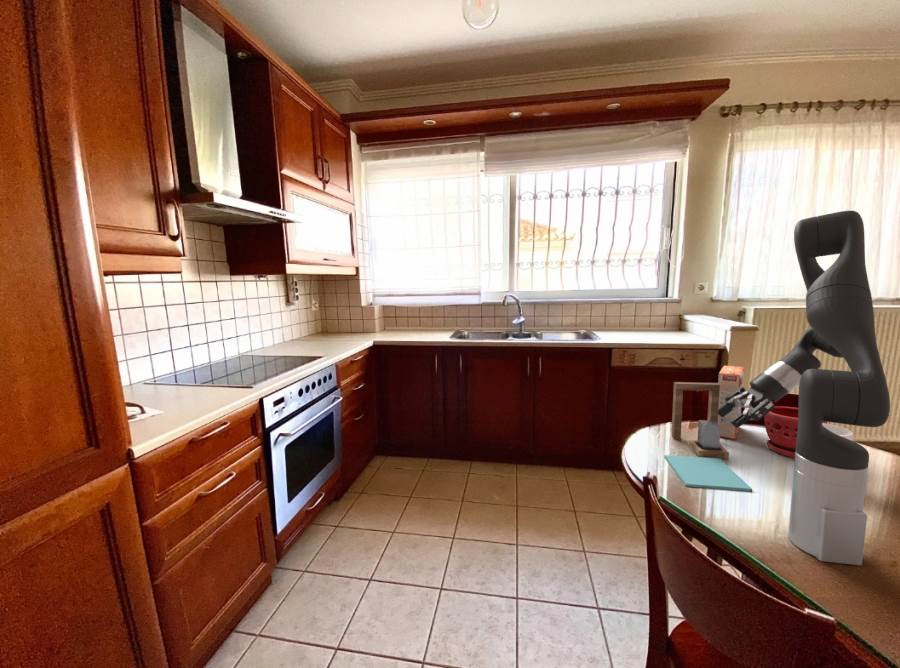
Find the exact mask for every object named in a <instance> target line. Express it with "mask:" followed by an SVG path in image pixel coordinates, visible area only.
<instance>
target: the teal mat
mask: <svg viewBox="0 0 900 668" xmlns="http://www.w3.org/2000/svg"><path fill="white" fill-rule="evenodd" d="M663 458H664V459H665V460H666V461H667V463H668V464H669V466H670V467H671V469H672V470H673V471H674V473H675V475H677V476H678V478H679V479H680V480H681V482H682V483H683V485H684V486H685V487H694V488H704V489H705V488H707V489H719V490H730V491H731V490H732V491H733V490H734V491H743V492H744V491H745V492H753V488H752V487H751V486H750V485H749V484H748V483H747V482H746V481H744V480H743V479H742V478H741V476H739V475H738V474H737V472H735V471H734V470H733V469H732V468H731V467H729V465H728V464H726V463H725V462H724V461H723V459H719V458H703V457H698V456H685V455H684V456H682V455H672V454H671V455H670V454H669V455H668V454H664V456H663Z"/></svg>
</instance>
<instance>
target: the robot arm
mask: <svg viewBox="0 0 900 668" xmlns="http://www.w3.org/2000/svg"><path fill="white" fill-rule="evenodd" d="M865 239H866V237H865V224H864V220H863V217H862V216H861V214H860V212H857V211H856V210H843V211H837V212H832V213H827V214H822V215H818V216H812V217H807V218H804V219H802V218H801V220H799V221H797V223H796V224H795V227H794V231H793V240H794V241H793V242H794V250H795V253H796V257H797V261H798V265H799V268H800V272H801V276H802V279H803V282H804V285H805V289H806V293H805V294H806V295H805V309H806V311H805V312H806V320H807V323H808V325H809V328H807V329H806V330H805V331H804V332H803V335H802V336H801V337H800V339H799V340H798V341H797V343H796V344H794V345H795V346H793V348H792V349H791V350H790V352H788V353H787V354H785V355H784V356H783V357H782V358H781V359H779V360H778V361H776V362H775V363H774V364H771V365H769V366H768V367H767V368H766V369H764V371H762V372H761V373H759V374H758V375H757V376H755V377H754V378H752V379H751V380H750V381H749V386H750V388H748V389H746V388H744V386H743V387H740V388H738V389H737V390H736V391H734V392H733V393H732V394H730V395H729V396H727V397H726V398H725V400H726V404H725V405H724V406H722V407H721V408H720V409H719V410H717V411H716V412H717V414H719V415H720V416H721V417H724V416H725V415H727V414H728V413H729V412H731V411H732V410H733V409H735V408H738V407H741V409H742V408H743V409H744V410H743V412H741V414H740V415H738V416H737V417H736V418H734V419H733V420H732V421H731V424H732V425H733V426H735V427H736V428H739V429H740V427H742V426H743V425H744V424H746V423H747V422H748V421H755V422H759V421H760V420H761V419H762V418H764V416H765V415H766V414H767V413H769V412H770V411H771V410H772V409H774V408H775V407H776V406H775V404H774V403H777V402H779V400H781V399H782V398H783V397H785V396H786V395H788V394H790V393H791V392H792V391H793V390H794V389H796V388H797V387H798V408H799V413H798V432H797V442H796V453H795V458H794V465H793V475H792V487H791V488H792V489H791V499H790V509H789V511H790V512H789V524H788V539H789V540H790V542H792V544H794V545H795V546H796V547H797V548H798V549H800V550H802V551H804V552H805V553H807V554H809V555H812V556H814V557H815V558H816V559H817V560H819V562H826V563H835V564H842V565H843V564H844V565H845V564H846V565H853V566H862V565H863V558H864V557H863V556H864V548H865V539H866V530H867V522H868V515H867V513H865V512H864V509H865V508H864V505H865V497H866V490H867V489H866V488H867V481H868V470H869V463H870V454H869V451H868V449H867V448H866V447H864V446H863V445H861V444H860V443H858V442H856V441H851V440H849V439H846V438H844V437H841V436H839V435H837V434H835V433H833V432H831V431H829V430H828V429H826V428H825V427H824V426H823V425H822V423H823V422H824V421H826V422H827V423H836V424H841V425H850V426H856V427H865V428H878V427H882V426H884V425H885V424H886V422H887V421H888V419H889V417H890V411H891V398H890V392H889V388H888V384H887V383H888V382H887V379H886V375H885V371H884V368H883V365H882V359H881V356H880V352H879V348H878V343H877V338H876V328H875V315H874V313H875V312H874V305H873V297H872V293H871V288H870V282H869V278H868V273H867V266H866V249H865V248H866V245H865V243H866V242H865ZM833 255H838V257H837V258H836V260H835V261H834V262H833V263H832V264H831V265H830V266H829V267H828V268H827V269H826V270H824V268H823V267H821V265H820V264H819V263H818V261H817V258H819V257H824V256H825V257H826V256H833ZM815 350H819V351H821V352H823V353H825V354H827V355H829V356H832V357H835V358H840V359H841V358H843V359H844V360H845V362H846V364H847V366H848V367H849V370H850V371H849V370H839V369H838V370H837V369H821V366H822V362H821V361H820V359H819V358H818V357H817V356H815V354H813V353H814V352H815ZM732 397H733V399H731V398H732ZM734 404H735V405H734Z"/></svg>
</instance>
